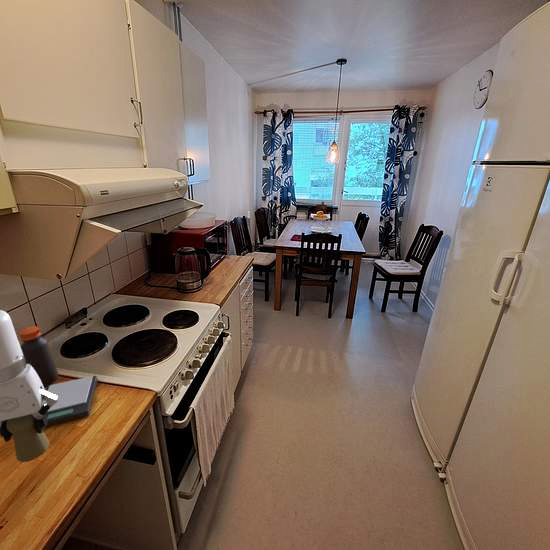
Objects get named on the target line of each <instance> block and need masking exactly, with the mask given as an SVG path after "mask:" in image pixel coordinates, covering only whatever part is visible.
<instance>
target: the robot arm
mask: <svg viewBox="0 0 550 550" xmlns="http://www.w3.org/2000/svg"><path fill="white" fill-rule="evenodd" d="M45 390H46V388H45V386H44V387H43V384H42V382H41V380H40V378H39V376H38V374H37V373H36V371H35V370H34V369H33V367H32V366H31V365H30V364H26V361H25V358H24V355H23V353H22V350H21V344H20V340H19V339H18V335H17V333H16V330H15V327H14V324H13V321H12V318H11V317H10V315H9V313H8V312H6V311H4V310H2V309H0V437H1V438H3V441H4V442H5V443H7V442H10V441H11V440H12V438H13V433H10V432H9V431H8V430H7V427H6V423H7V421H8V419H12V418H16V417H21V416H25V415H29V414H32V415H33V416H34V417H35V420H34V424H35V427H36V430H37V432H38V433H39V434H40V433H42V432H43V433H44V429H45V428H46V427H45V426H47V418H46V415H45V413H46V412H47V411H48V410H49V409H50V407H52V406H53V405H54V404H55V403H56V402H57V400H58V398H59V397H58V396H56V395H54V394H52V393H49V392H47V391H45ZM42 400H45V401H47V402H46V403H45V404H44V405H43V404H42ZM44 427H45V428H44Z"/></svg>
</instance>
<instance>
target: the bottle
mask: <svg viewBox="0 0 550 550" xmlns="http://www.w3.org/2000/svg"><path fill="white" fill-rule="evenodd" d="M18 335H19V338H20V341H22V344H20V347H21V350H22V353H23V355H24V358H25V361H26V364H30V365H31V366H32V367H33V369H34V370H35V371H36V373H37V374H38V376H39V378H40V380H41V382H42V384H43V387H44V388H45V387H47V386H50V385H53V383H55V382H56V381H57V380H58V379H59V377H60V376H59V372H58V369H57V366H56V363H55V360H54V357H53V354H52V351H51V348H50V345H49V342H48V340H47V339H46V338H45V337H43V336H41V335H42V333H41V330H40V327H39V326H30V327H26V328H23V329H21V330H20V331H19V332H18Z"/></svg>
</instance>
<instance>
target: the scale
mask: <svg viewBox="0 0 550 550" xmlns="http://www.w3.org/2000/svg"><path fill="white" fill-rule="evenodd" d="M98 381H99V379H98V376H97V375H91V376H86V377H82V378H77V379H72V380H68V381H64V382H59V383H54V384H50V385H47V386H46V387H45V391H47V392H49V393H52V394H54V395H56V396H58V397H59V398H58V400H57V402H56V403H55V404H54V405H53V406H52V407H50V409H49V410H48V411H47V412H46V413H45V415H46V418H47V426H45V427H44V429H45V428H48V427H52V426H53V427H54V426H56V425H59V424H63V423H68V422H70V421H74V420H78V419H82V418H86V417H89V416H90V414H91V409H92V406H93V402H94V397H95V393H96V389H97V386H98V385H97V384H98ZM46 402H47V401H45V400H42V404H43V405H44V404H45V403H46Z"/></svg>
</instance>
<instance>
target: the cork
mask: <svg viewBox="0 0 550 550" xmlns="http://www.w3.org/2000/svg"><path fill="white" fill-rule="evenodd" d="M34 420H35V417H34V416H33V415H32V414H29V415H25V416H21V417H16V418H12V419H8V421H7V423H6V427H7V430H8V431H9V432H10V433H13V435H12V438H13V443H14V450H15V455H16V460H17V461H18V462H19V463H28V462H31V461H33V460H36V459H38V458H39V457H40V456H42V455H43V454H45V452H46V451H47V450H48V448H49V447H50V440H49V438H48V437H47V435H46V434H45V432H44V431H43V432H42V433H40V434H39V433H38V432H37V430H36V427H35V424H34Z"/></svg>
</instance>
